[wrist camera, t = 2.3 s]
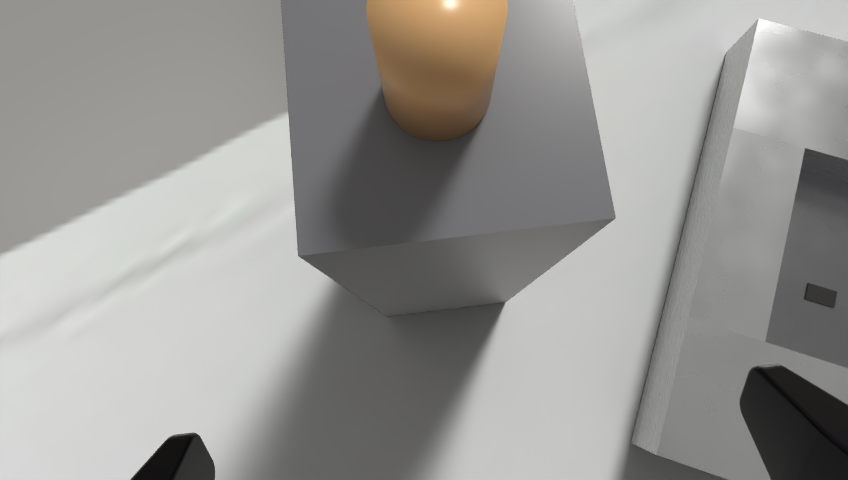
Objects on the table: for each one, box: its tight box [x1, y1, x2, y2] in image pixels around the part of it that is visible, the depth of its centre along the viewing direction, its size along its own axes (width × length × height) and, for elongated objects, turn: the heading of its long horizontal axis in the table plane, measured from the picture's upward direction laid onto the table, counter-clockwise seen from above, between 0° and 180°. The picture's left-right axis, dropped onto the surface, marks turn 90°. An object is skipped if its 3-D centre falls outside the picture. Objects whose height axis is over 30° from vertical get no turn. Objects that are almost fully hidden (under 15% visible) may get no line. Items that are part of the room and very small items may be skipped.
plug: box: [281, 0, 616, 316], centre depth 13 cm, size 4×4×15 cm
